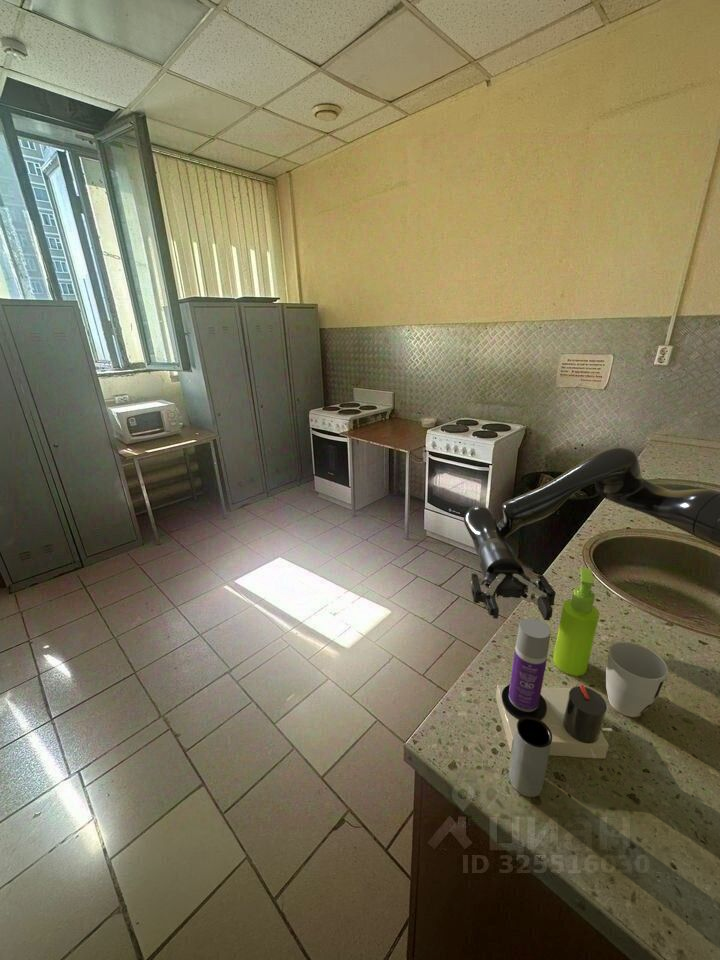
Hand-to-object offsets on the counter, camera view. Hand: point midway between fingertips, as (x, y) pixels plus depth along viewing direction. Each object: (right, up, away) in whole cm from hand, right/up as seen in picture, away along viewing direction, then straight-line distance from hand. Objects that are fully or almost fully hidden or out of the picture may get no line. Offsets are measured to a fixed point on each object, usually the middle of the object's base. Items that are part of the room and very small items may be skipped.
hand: (522, 615), depth 67 cm
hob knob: (+7, -16, -5) cm, 18 cm away
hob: (+4, -18, -3) cm, 19 cm away
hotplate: (0, -14, -1) cm, 14 cm away
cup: (+19, -16, +2) cm, 25 cm away
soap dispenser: (+14, -13, +11) cm, 22 cm away
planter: (-3, -21, -9) cm, 23 cm away
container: (0, -14, -1) cm, 14 cm away
